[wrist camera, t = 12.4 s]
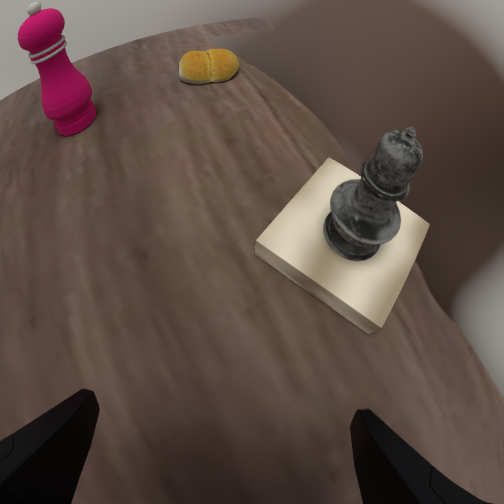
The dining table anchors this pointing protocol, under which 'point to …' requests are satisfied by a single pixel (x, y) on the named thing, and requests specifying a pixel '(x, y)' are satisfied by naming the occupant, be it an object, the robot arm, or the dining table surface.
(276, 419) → the dining table surface
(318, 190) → the plate
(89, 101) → the pepper mill
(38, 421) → the robot arm
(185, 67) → the bread roll
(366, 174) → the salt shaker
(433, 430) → the dining table surface
